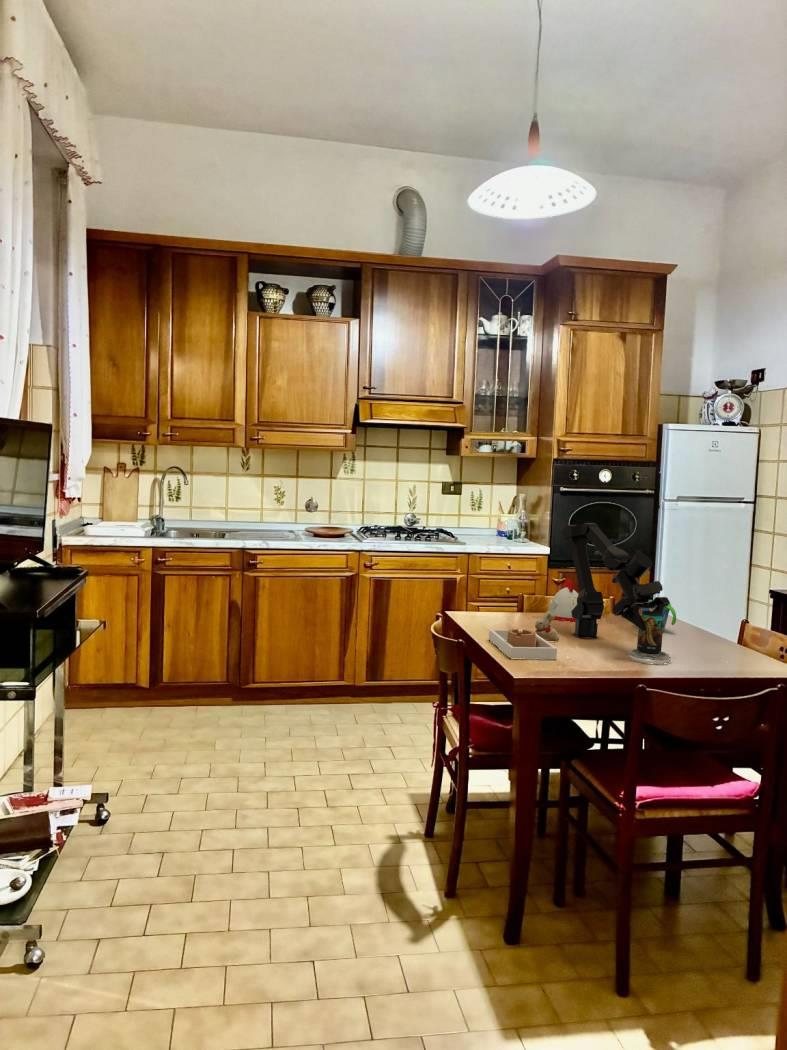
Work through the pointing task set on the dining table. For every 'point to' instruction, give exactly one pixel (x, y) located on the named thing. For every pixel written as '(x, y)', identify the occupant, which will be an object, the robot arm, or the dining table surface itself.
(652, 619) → the beverage can
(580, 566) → the robot arm
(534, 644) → the bracket
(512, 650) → the gray rectangular tray
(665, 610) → the snack cup
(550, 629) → the chocolate bunny
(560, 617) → the kitchen timer
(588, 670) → the dining table surface
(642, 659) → the shallow metal dish
